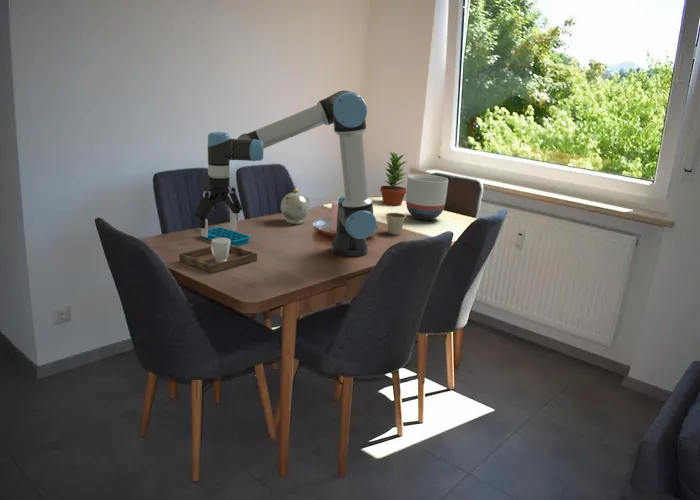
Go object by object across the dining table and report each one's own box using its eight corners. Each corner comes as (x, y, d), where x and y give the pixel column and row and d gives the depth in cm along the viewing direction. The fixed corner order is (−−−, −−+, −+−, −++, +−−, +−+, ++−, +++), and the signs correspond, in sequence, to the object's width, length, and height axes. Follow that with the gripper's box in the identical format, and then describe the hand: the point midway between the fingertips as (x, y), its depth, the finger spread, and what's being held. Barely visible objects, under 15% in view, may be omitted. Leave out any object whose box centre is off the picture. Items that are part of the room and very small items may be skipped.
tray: (257, 260, 227) (257, 253, 226) (211, 274, 210) (211, 266, 209) (225, 249, 237) (225, 242, 237) (179, 261, 221) (179, 253, 220)
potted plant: (411, 205, 334) (416, 152, 325) (388, 207, 327) (393, 152, 318) (396, 199, 346) (400, 148, 337) (374, 201, 339) (378, 148, 330)
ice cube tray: (220, 233, 260) (220, 226, 259) (252, 243, 249) (252, 236, 248) (198, 238, 251) (198, 231, 250) (231, 249, 240) (231, 242, 239)
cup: (218, 265, 218) (218, 243, 216) (203, 257, 225) (203, 237, 222) (234, 261, 223) (234, 240, 221) (219, 254, 230) (219, 234, 227)
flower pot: (393, 237, 271) (395, 218, 269) (379, 231, 278) (381, 213, 275) (408, 234, 277) (410, 216, 274) (394, 229, 284) (396, 211, 281)
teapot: (296, 228, 274) (297, 193, 269) (273, 222, 281) (274, 188, 276) (319, 221, 289) (321, 188, 284) (297, 216, 296) (298, 183, 291)
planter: (403, 212, 317) (406, 172, 311) (441, 215, 317) (445, 175, 310) (404, 222, 298) (408, 180, 291) (445, 225, 297) (450, 183, 291)
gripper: (237, 170, 226) (237, 225, 232) (183, 178, 207) (185, 237, 213) (251, 174, 222) (251, 229, 228) (197, 181, 203) (198, 241, 209)
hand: (219, 233), depth 221 cm, fingers open, 13 cm apart
